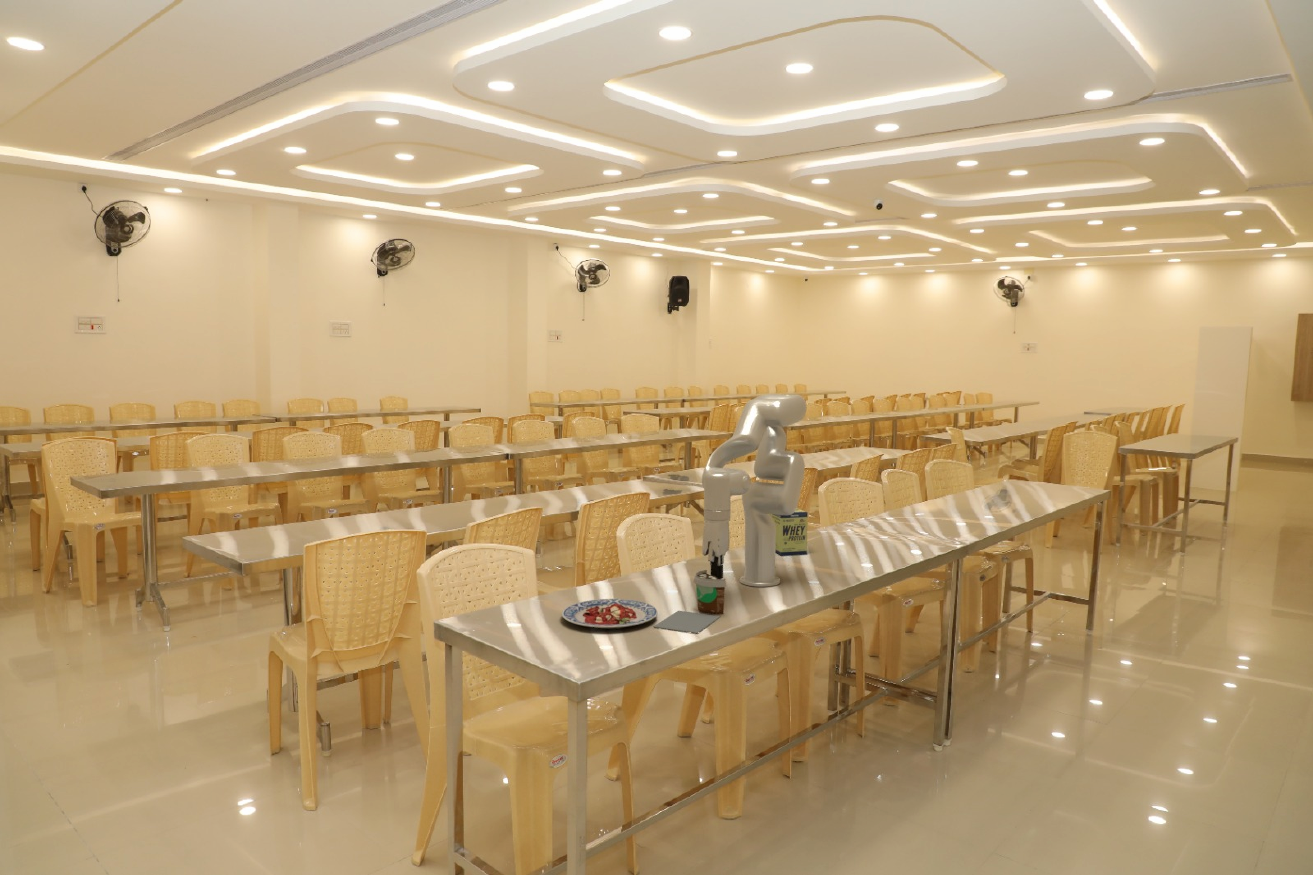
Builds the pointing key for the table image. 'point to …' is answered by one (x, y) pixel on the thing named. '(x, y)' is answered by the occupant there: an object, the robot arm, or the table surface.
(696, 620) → the mat
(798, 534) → the protein box
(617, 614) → the ceramic plate
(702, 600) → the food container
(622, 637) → the table surface
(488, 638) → the table surface
